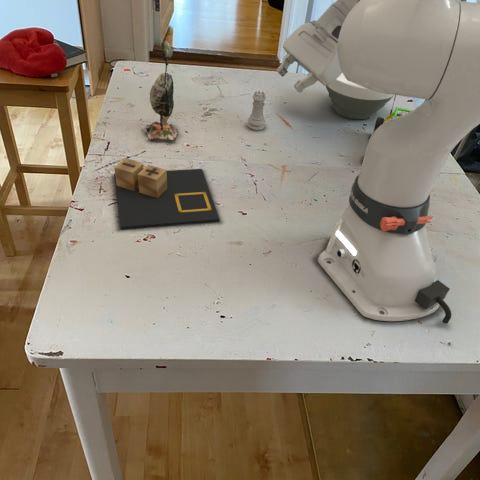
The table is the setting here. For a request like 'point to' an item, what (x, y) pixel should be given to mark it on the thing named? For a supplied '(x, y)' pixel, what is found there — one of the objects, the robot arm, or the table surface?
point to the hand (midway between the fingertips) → (287, 81)
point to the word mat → (168, 203)
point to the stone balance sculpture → (163, 101)
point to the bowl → (355, 99)
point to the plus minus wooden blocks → (141, 177)
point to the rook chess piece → (257, 112)
